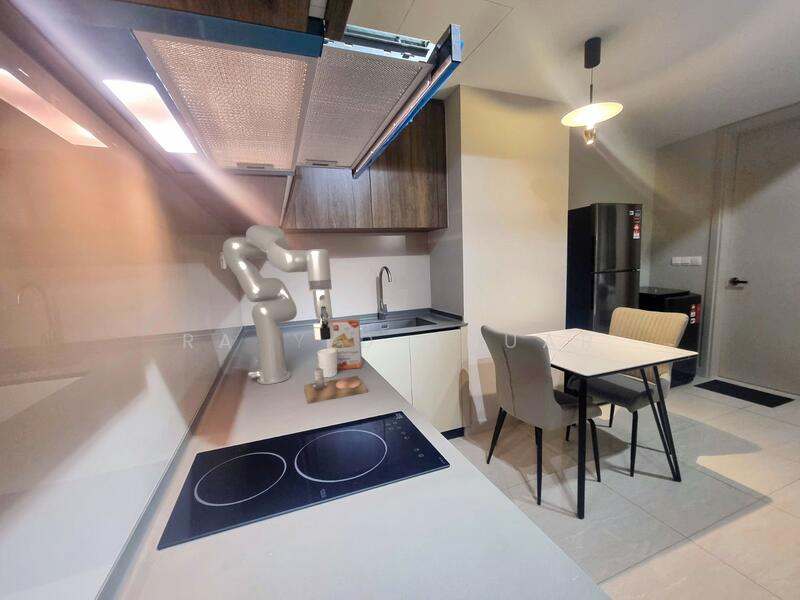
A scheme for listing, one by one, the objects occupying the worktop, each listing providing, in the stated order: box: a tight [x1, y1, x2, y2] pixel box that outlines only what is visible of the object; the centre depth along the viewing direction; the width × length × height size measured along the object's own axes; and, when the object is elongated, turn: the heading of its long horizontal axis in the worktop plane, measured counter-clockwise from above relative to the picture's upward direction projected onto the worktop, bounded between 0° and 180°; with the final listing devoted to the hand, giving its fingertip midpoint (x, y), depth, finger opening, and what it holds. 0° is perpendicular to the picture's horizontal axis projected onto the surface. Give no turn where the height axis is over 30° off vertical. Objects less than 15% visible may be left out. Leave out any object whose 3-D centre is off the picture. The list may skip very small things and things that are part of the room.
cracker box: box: [326, 318, 363, 370], centre depth 138 cm, size 14×6×21 cm, turn 92°
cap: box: [313, 322, 334, 341], centre depth 110 cm, size 7×7×5 cm
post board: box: [303, 367, 368, 405], centre depth 113 cm, size 20×14×8 cm
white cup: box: [316, 348, 338, 379], centre depth 130 cm, size 8×8×10 cm
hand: (324, 336), depth 111 cm, fingers closed on cap, 6 cm apart
